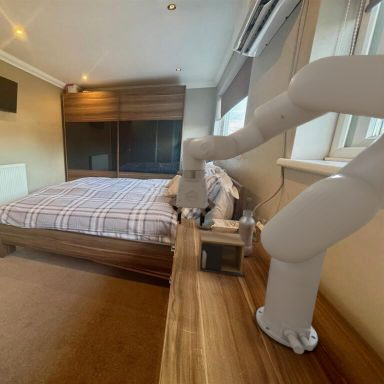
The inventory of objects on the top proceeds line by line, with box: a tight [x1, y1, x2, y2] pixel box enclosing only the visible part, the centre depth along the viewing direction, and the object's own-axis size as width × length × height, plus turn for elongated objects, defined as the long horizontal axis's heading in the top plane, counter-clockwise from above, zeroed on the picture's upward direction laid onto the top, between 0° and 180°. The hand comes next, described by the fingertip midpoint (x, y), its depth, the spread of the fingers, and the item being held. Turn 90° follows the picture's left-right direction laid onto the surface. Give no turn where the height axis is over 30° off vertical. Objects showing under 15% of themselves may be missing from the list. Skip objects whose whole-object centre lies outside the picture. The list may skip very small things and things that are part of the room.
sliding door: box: [199, 243, 223, 270], centre depth 75 cm, size 5×7×10 cm, turn 74°
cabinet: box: [197, 230, 245, 277], centre depth 80 cm, size 11×15×12 cm
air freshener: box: [194, 210, 216, 230], centre depth 121 cm, size 11×8×10 cm
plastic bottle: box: [238, 209, 257, 257], centre depth 88 cm, size 6×7×20 cm
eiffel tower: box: [234, 192, 258, 243], centre depth 107 cm, size 11×11×25 cm
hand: (190, 223), depth 73 cm, fingers open, 6 cm apart
